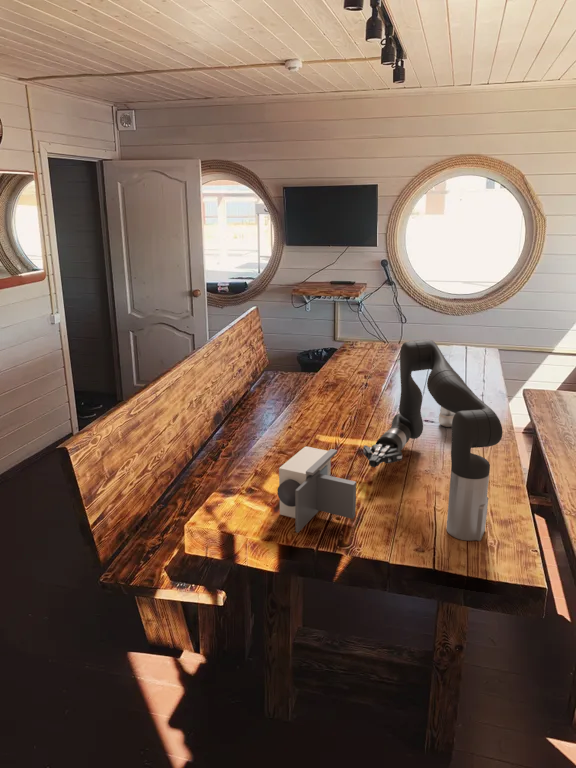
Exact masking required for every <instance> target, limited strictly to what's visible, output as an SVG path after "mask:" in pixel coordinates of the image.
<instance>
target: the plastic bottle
mask: <svg viewBox="0 0 576 768" xmlns="http://www.w3.org/2000/svg"><path fill="white" fill-rule="evenodd" d="M454 415H455V413H453V412H451V411H449V410H447V409H445V408H443V407H441V406H440V411H439V414H438V423H439V425H441V426H442V427H447V428H452V420H453V417H454Z"/></svg>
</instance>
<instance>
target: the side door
mask: <svg viewBox="0 0 576 768" xmlns="http://www.w3.org/2000/svg"><path fill="white" fill-rule="evenodd" d="M356 506H357V481H355V480H351V479H347V478H346V479H345V478H341V477H336V476H334V475H333V476H332V475H330V476H328V475H324V474H320V470H318V471H317V472H316V473H315V474H314V475H313V476H312V475H311V476H310V477H309V478H308V479H307V480H306V481H305V482H303V483H302V484H301V485H300V486H299V487H298V488H297V489H296V490H295V518H294V519H295V533H297V534H298V533H300V531H301V530H302V529H304V527H305V526H306V525H307V524H308V523H309V522H310V521H311V520H312V519H313V518H314V516H316V515H317V514H318V513H319V512H323V513H328V514H332V515H335V516H340V517H344V518H346V519H347V518H348V519H350V520H354V518H355V517H356V510H357V507H356Z"/></svg>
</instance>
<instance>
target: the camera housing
mask: <svg viewBox="0 0 576 768" xmlns="http://www.w3.org/2000/svg"><path fill="white" fill-rule="evenodd" d="M337 454H338V449H334V448H333V449H332V448H330V449H329V450H326V449H321V448H316V447H311V446H304V447H303V448H302V449H300V450H299V451H298V452H296V453H295V454H294V455H293V456H292V457H290V458H289V459H288V460H287V461H285V463H283V464H282V465H281V466H280V467H279V468H278V478H279V479H278V487H277V490H276V491H277V492H276V493H277V496H278V499H279V515H280V516H285V517H288V518H292V519H295V490H296V489H297V488H298V487H299V486H300V485H301V484H302V483H303V482H305V481H306V480H307V479H308V478H309V477H310V476H311V475H312V476H313V475H314V474H315V473H316V472H317V471H318V470H320V474H324V475H328V476H331V471H332V470H331V465H332V464H331V463H332V461H331V459H332V458H334V457H335V456H336V455H337Z"/></svg>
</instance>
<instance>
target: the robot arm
mask: <svg viewBox="0 0 576 768" xmlns="http://www.w3.org/2000/svg"><path fill="white" fill-rule="evenodd" d="M426 370H431V371H430V373H429V374H428V377H427V381H426V388H427V390H428V392H429V394H430V395H431V397H432V398H433V399H434V401H435V403H436V404H438V405H439V406H440V408H441V407H443V408H445V409H447V410H449V411H451V412H453V413H455V415H454V417H453V420H452V427H451V446H450V447H451V448H450V459H451V461H450V463H451V467H450V481H449V490H448V491H449V492H448V503H447V504H448V506H447V517H446V531H447V533H448V534H449V535H450V536H452V537H453V538H455V539H457V540H462V541H470V542H471V541H478V542H481V541H482V538H483V536H484V533H485V531H486V525H487V516H488V506H489V497H488V490H489V482H490V481H489V480H490V473H491V472H490V471H491V470H490V469H491V464H490V462H489V460H488V459H486V458H485V457H483V456H481V455H478V454H475V453H472V451H471V450H472V449H473V448H474V449H476V448H478V449H479V448H488V447H493V446H496V445H497V444H499V443H500V442H501V440H502V438H503V431H504V430H503V426H502V423H501V420H500V418H499V416H498V415H497V413H496V412H495V411H494V410H493V409H492V408H491V407H490V406H488V405H487V404H486V403H485V402H484V401H483V400H482V399H480V398H479V397H478V395H476V394H475V393H474V392H473V390H472V389H470V387H469V386H468V384H466V382H465V380H463V378H462V377H461V376H460V374H458V373H457V372H456V370H455V369H454V368H453V367H452V365H450V364H449V362H448V361H447V359H446V357H445V356H444V355H443V353H442V351H441V350H440V348H439V346H438V345H437V343H436V342H435V341H434V340H432V339H425V338H424V339H419V340H410V341H405V342H403V343H402V345H401V347H400V351H399V375H400V376H399V377H400V378H399V379H400V398H399V405H398V412H399V413H397V414H396V415H394V417H393V418H392V422H391V427H390V428H389V429H387V430H386V431H385V432H384V433H383V434H382V435H381V436H380V437H379V438H378V439H377V440H376V442H375V444H372V445H371V447H370V446H368V445H363V455H364V456H365V457H366V458H365V459H367V460H368V465H369V467H371V468H372V467H373V468H376V467H378V466H379V465H380V464H383V463H384V464H387V465H388V464H393V463H396V462H401V461H403V452H402V450H403V449H404V448H405V446H406V444H408V442H409V441H410V439H413V440H417V439H418V438H420V437H421V435H422V434H423V430H424V422H423V421H424V420H423V417H422V412H421V410H422V409H421V408H422V404H423V394H422V390H421V388H420V387H419V385H418V384H417V383H416V381H415V380H414V378H413V377H412V372H419V371H426Z"/></svg>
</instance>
